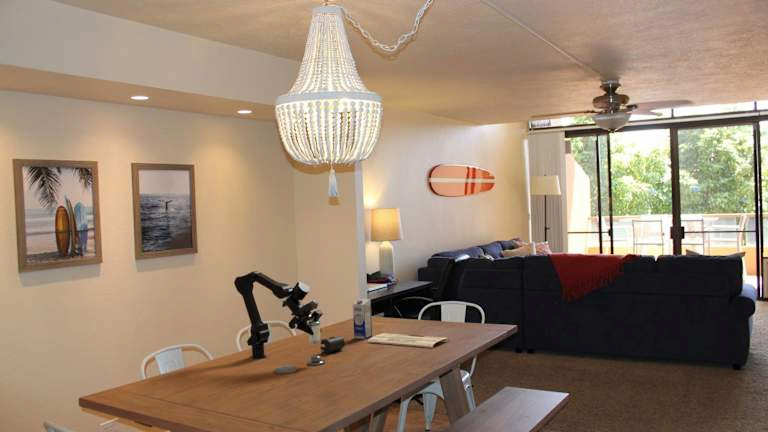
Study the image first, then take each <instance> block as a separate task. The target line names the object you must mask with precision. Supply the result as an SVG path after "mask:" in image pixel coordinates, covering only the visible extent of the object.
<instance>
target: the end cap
mask: <svg viewBox="0 0 768 432" xmlns="http://www.w3.org/2000/svg"><path fill="white" fill-rule="evenodd" d="M319 344H320V345H324V346H320V350H321V354H332V353H334V352H335V353H336V352H338V351H342V350H343V349H344V348H345V345H346V341H345V338H343V337H342V336H341V335H338V336H331V337H329V338H328V339H327V338H324V339H321V343H319Z"/></svg>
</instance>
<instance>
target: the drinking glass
mask: <svg viewBox="0 0 768 432" xmlns="http://www.w3.org/2000/svg"><path fill="white" fill-rule="evenodd" d="M307 324H308V325H309V327H310V328H311V330H312V331H313V333H314V335H310V334H308V342H309V344H310V345H312V344H313V345H315V344H316V345H317V344H320V343H321V340H322V339H321V338H322V336H321V335H322V332H321V331H322V329H321V330H320V328H321V321H320V320H318V321H312V322H309V321H307Z"/></svg>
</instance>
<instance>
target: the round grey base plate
mask: <svg viewBox="0 0 768 432" xmlns="http://www.w3.org/2000/svg"><path fill="white" fill-rule="evenodd" d="M325 364H326V360H325V359H322V355H312V356H310V360H308V361H307V364H306V365H308V366H316V367H317V366H323V365H325Z"/></svg>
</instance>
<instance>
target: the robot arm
mask: <svg viewBox="0 0 768 432" xmlns="http://www.w3.org/2000/svg"><path fill="white" fill-rule="evenodd" d="M233 283H234V286H235V289H236V291H237V292H238V294H240V295H241V296H242V299H243V302H244V305H245V308H246V311H247V314H248V318H249V322H250V325H251V326H250V330H249V331H250V336H249V338H248V339H247V340H246V343H247V346H251V355H250V358H251V359H252V360H257V359H262V358H267V355H266V354H265V344H267V343H268V342H269V338H270V335H271V333H270V332H271V330H270V328H269V325H268V323H267V322H265V323H264V322H263V321H262V318H261V315H260V311H259V308H258V305H257V302H256V300H255V299H256V298H255V296H254V293H253V290H254V286H255V285H254V283H258V284H260V285H261V286H262V287H265V288H266V289H268V290H270V291H271V292H272V294H273V295H274V296H275V297H276V298H277V299H279V300H282V299H285V300H283V301H282V305H281V306H282V308H286V307H287V308H288V309H289V310H290V312H291V316H292V318H291V319H290V321H289V322H288V327H289V328H290V329H291V330H293V329H296V330H299V331H302V332H304V333H306V334H308V335H309V334H310V335H314V333H313V331H312V330H311V328H310V327H309V325H308V322H312V321H320V319H321V317H322V316H323V315H324V312H323V311H322V310H321V309H319V310H318V307H319V303H318V301H316V300H315V299H314V300H311V301H310V302H308V303H304V304H302V302H301V301H304V300H305V298H306V297H307V295H308V294H309V292H310V291H311V288H310V287H309V285H308V284H305V283H303V282H302V281H297V282H296V284H295V286H292V285H290V284H288V283H284V282H283V283H282V282H278V281H276V280H274V279H273V278H272V277H269V276H268V275H266V274H264V273H262V272H261V271H259V270H255V271H251V272H249V273H248V274H245V275H242V276H236V277H235V279H234V281H233ZM316 309H317V310H316ZM314 310H315V311H314ZM320 330H321V333H322V331H323V330H322V328H321V327H320Z"/></svg>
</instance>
